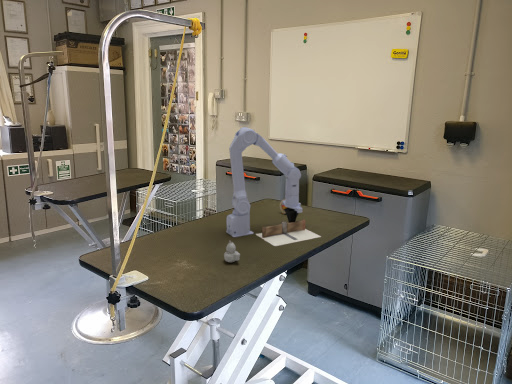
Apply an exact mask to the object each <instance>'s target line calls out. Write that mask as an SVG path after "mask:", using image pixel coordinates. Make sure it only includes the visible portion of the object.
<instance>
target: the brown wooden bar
mask: <svg viewBox="0 0 512 384" xmlns="http://www.w3.org/2000/svg"><path fill="white" fill-rule="evenodd" d="M305 229H306V220H305V219H301V220H298V221H297V220H296V221H295V222H291V223H289V222H287V232H292V231H298V230H305Z"/></svg>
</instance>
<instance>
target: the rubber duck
mask: <svg viewBox="0 0 512 384" xmlns="http://www.w3.org/2000/svg"><path fill="white" fill-rule="evenodd" d="M236 248H237V247H236V245H235V243H234V242H233V241H231V240H229V242H228V243H227V245H226V246H225V250H226V251H225V252H224V253H223V257H224V261H225V262H227V263H234V262H237V261H240V257H241V253H239V252H238V250H237V249H236Z"/></svg>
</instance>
